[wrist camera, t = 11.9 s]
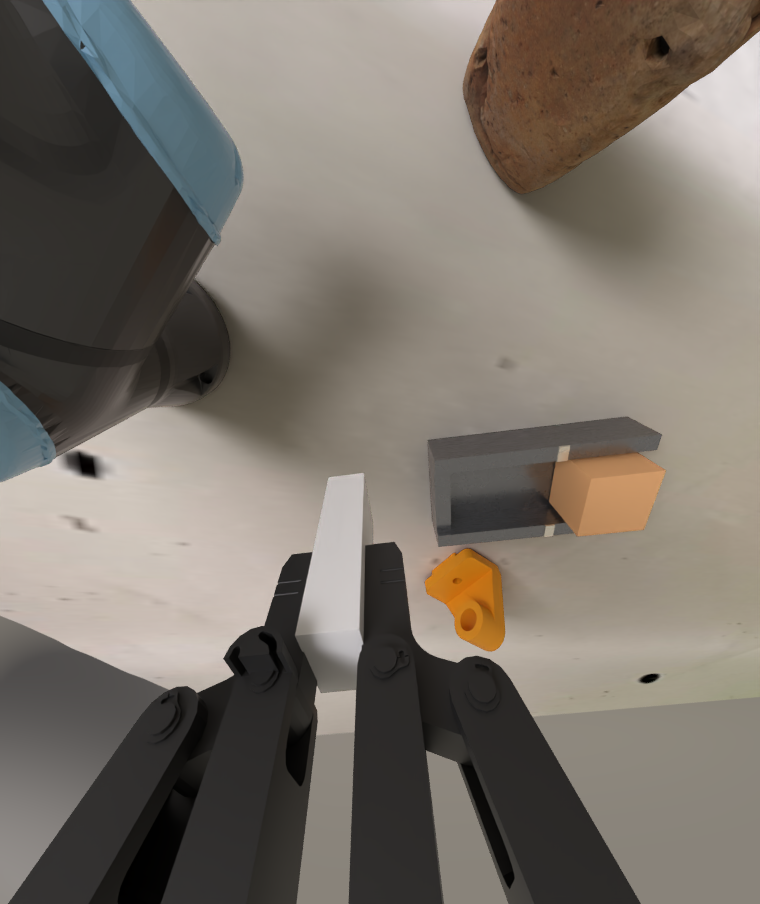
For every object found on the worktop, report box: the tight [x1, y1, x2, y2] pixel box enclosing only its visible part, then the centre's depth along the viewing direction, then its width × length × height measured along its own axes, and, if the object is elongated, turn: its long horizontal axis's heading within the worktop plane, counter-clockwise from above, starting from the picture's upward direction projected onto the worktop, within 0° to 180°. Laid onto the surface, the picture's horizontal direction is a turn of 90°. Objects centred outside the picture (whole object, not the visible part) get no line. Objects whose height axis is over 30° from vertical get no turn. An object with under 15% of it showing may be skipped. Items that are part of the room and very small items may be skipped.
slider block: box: [549, 452, 666, 536], centre depth 39 cm, size 8×9×7 cm
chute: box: [427, 417, 662, 547], centre depth 41 cm, size 26×14×6 cm, turn 97°
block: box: [463, 0, 760, 194], centre depth 18 cm, size 11×8×20 cm
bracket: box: [425, 549, 505, 651], centre depth 48 cm, size 11×7×12 cm, turn 142°
